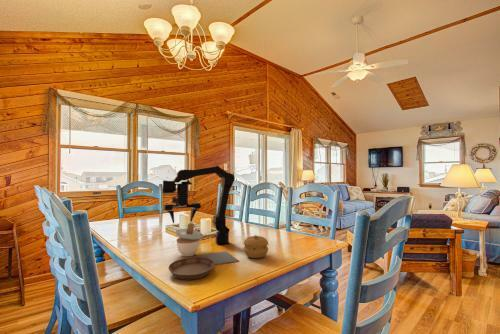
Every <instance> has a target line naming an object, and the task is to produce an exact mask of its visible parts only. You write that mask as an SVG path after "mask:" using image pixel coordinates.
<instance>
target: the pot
mask: <svg viewBox="0 0 500 334" xmlns="http://www.w3.org/2000/svg"><path fill="white" fill-rule="evenodd" d="M243 245H244V246H243V248H242V249H243V252H244V254H245V255H246V256H247V257H248V258H252V259H261V258H264V257H265V256H266V255H267V253H268V251H269V247H268V245H269V241H268V239H266V238H265V237H263V236H259V235H256V234H255V235H253V236H251V235H250V236H247V237H246V238H245V239H244V241H243Z"/></svg>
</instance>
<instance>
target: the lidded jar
mask: <svg viewBox="0 0 500 334" xmlns="http://www.w3.org/2000/svg"><path fill="white" fill-rule="evenodd" d="M200 240H201V239H198V240H189V239H184V238H181V237H177V239H176V246H177V247H176V248H177V251H178V252H179V254H180V255H181V256H183V257H194V255H196V253H197V252H198V251H199V249H200Z"/></svg>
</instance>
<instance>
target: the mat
mask: <svg viewBox="0 0 500 334" xmlns="http://www.w3.org/2000/svg"><path fill="white" fill-rule="evenodd" d="M193 257H203V258H208V259H211V260H212V261H213V262H214V264H215V265H214V267H215V266H219V265H225V264H226V265H227V264H233V263H238V262H240V260H239V259H238V258H237V257H235V256H233V255H232V254H230V252H228V251H227V250H224V251H216V252H215V251H214V252H210V253H209V252H208V253H202V254H195V255H193Z"/></svg>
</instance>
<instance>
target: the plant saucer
mask: <svg viewBox="0 0 500 334" xmlns="http://www.w3.org/2000/svg"><path fill="white" fill-rule="evenodd" d="M214 265H215V264H214V262H213V261H212V260H211V259H208V258H203V257H195V256H188V257H184V258H180V259H177V260H175V261H173V262H171V263H170V264H169V265H168V271H169V272H170V273H171V274H172V276H174V277H175V278H176V279H180V280H189V281H190V280H197V279H200V278H201V279H202V278H203V277H206V276H207V275H209V274H210V273H211V272H212V270H213V269H214V267H215V266H216V265H215V266H214Z"/></svg>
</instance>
